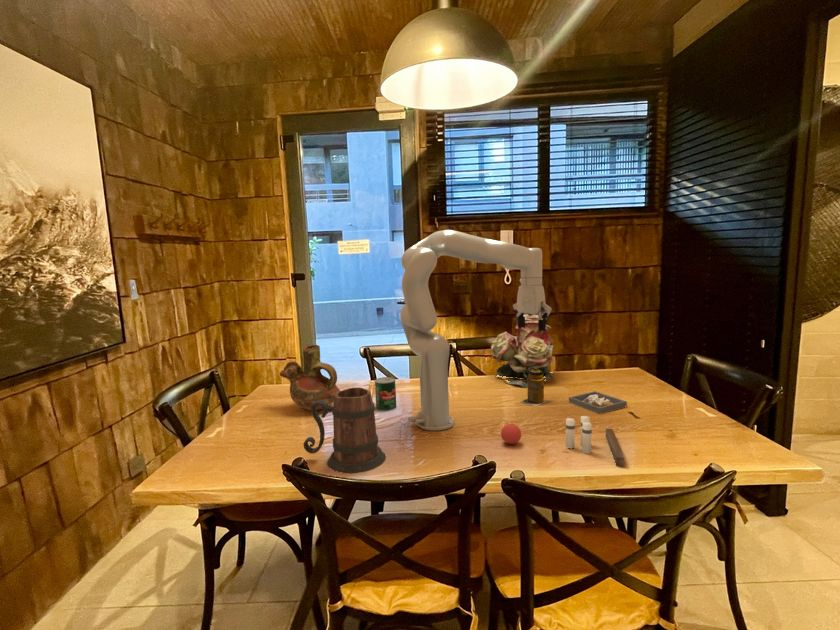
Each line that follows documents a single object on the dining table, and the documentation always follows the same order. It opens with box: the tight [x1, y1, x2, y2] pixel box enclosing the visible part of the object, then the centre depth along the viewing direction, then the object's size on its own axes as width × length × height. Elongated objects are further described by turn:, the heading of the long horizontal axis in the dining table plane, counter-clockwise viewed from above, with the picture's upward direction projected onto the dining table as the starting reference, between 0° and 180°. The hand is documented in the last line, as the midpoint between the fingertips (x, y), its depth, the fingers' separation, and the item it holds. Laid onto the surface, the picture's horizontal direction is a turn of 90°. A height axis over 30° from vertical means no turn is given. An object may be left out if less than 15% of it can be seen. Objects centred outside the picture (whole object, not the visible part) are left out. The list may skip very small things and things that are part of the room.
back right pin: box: [581, 422, 593, 455], centre depth 128 cm, size 2×2×8 cm
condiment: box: [520, 370, 549, 407], centre depth 172 cm, size 7×8×12 cm
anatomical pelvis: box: [583, 394, 611, 407], centre depth 167 cm, size 8×4×7 cm
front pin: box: [565, 417, 576, 450], centre depth 132 cm, size 2×2×8 cm
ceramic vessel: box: [279, 344, 341, 412], centre depth 174 cm, size 17×26×25 cm, turn 76°
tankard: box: [303, 386, 387, 474], centre depth 129 cm, size 24×17×20 cm
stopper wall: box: [605, 428, 626, 467], centre depth 129 cm, size 2×20×2 cm, turn 165°
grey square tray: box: [568, 390, 628, 415], centre depth 167 cm, size 14×15×2 cm
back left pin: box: [580, 415, 591, 446], centre depth 133 cm, size 2×2×8 cm
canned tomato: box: [374, 376, 397, 412], centre depth 172 cm, size 8×8×11 cm
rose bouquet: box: [490, 314, 555, 389], centre depth 201 cm, size 26×29×30 cm
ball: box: [500, 423, 522, 445], centre depth 136 cm, size 6×6×6 cm
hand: (531, 328), depth 166 cm, fingers open, 9 cm apart
